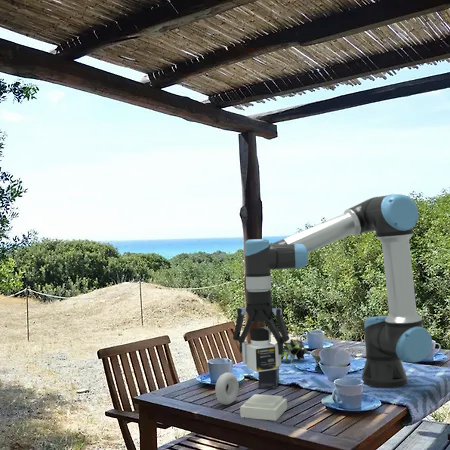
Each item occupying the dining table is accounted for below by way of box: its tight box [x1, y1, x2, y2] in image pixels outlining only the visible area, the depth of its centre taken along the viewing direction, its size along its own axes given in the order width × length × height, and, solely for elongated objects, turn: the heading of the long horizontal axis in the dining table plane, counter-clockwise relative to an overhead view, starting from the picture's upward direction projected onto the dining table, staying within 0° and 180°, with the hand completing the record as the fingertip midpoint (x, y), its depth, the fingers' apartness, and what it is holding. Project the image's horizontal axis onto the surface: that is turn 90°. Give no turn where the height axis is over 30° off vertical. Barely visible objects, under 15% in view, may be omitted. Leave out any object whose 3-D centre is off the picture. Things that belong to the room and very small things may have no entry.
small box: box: [257, 366, 280, 390], centre depth 194 cm, size 11×6×10 cm, turn 168°
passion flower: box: [281, 338, 311, 365], centre depth 226 cm, size 11×11×12 cm
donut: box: [214, 372, 240, 406], centre depth 174 cm, size 10×4×10 cm, turn 141°
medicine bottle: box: [245, 327, 278, 373], centre depth 164 cm, size 7×7×12 cm
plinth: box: [239, 393, 288, 421], centre depth 164 cm, size 11×11×4 cm
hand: (261, 364), depth 164 cm, fingers closed on medicine bottle, 10 cm apart
